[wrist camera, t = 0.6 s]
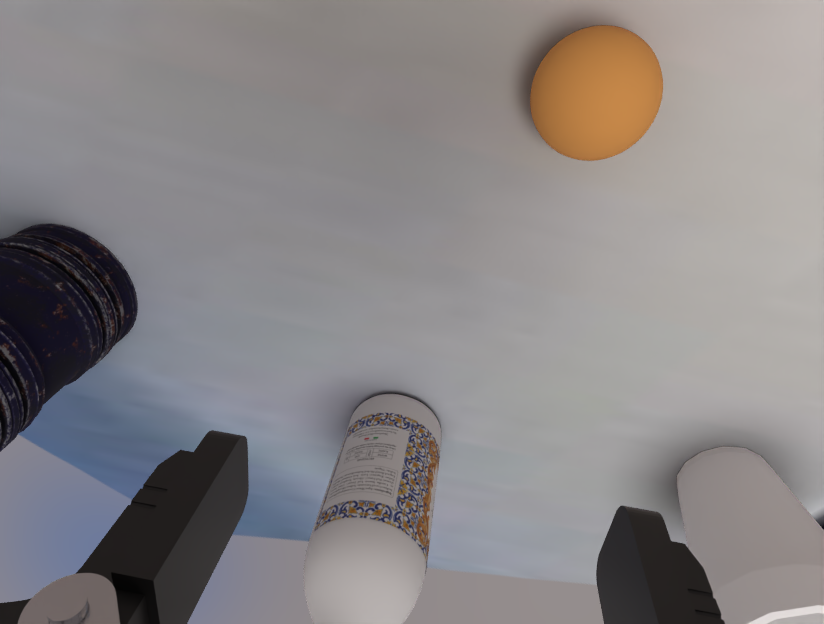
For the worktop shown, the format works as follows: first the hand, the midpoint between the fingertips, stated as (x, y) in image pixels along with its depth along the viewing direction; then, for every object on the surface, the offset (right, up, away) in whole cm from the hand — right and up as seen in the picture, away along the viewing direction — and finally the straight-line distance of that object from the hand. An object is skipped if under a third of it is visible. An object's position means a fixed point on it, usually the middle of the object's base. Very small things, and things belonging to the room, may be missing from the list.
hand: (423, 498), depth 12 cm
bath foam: (-1, -5, +30) cm, 31 cm away
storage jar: (-24, +6, +28) cm, 38 cm away
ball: (+8, +14, +15) cm, 22 cm away
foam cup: (+22, -8, +29) cm, 37 cm away
